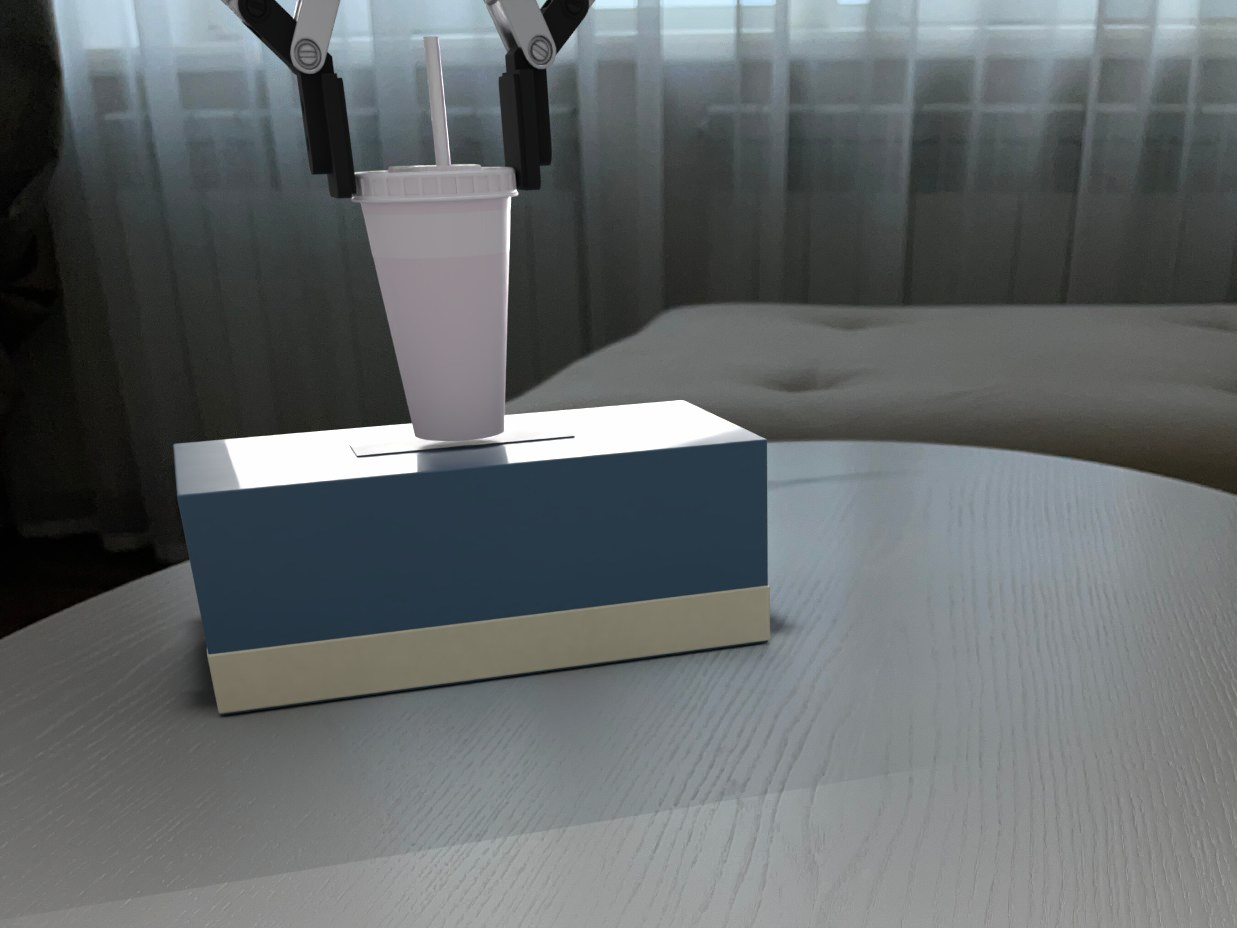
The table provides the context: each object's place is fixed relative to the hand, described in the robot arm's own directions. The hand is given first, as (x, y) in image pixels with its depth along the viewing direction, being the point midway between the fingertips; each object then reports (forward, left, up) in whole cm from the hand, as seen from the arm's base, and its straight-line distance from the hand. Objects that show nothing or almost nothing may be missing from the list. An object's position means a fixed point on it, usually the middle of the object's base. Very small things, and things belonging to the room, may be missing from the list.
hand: (434, 188), depth 56 cm
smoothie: (0, 0, -9) cm, 9 cm away
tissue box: (0, 0, -18) cm, 18 cm away
